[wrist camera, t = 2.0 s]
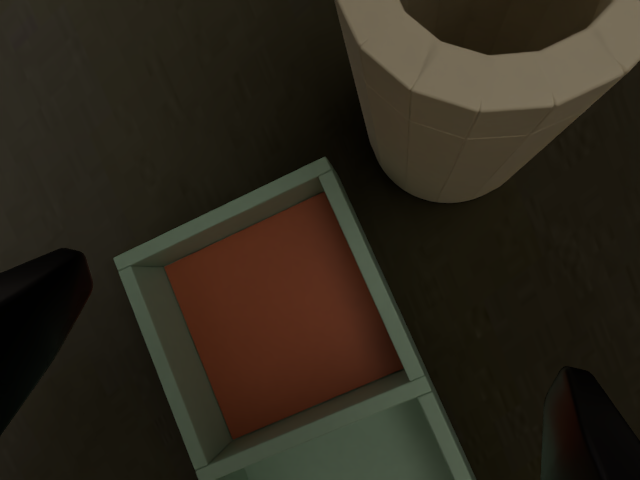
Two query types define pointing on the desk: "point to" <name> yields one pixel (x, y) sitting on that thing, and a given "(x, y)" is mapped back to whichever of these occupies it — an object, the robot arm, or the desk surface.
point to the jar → (479, 82)
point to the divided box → (287, 343)
